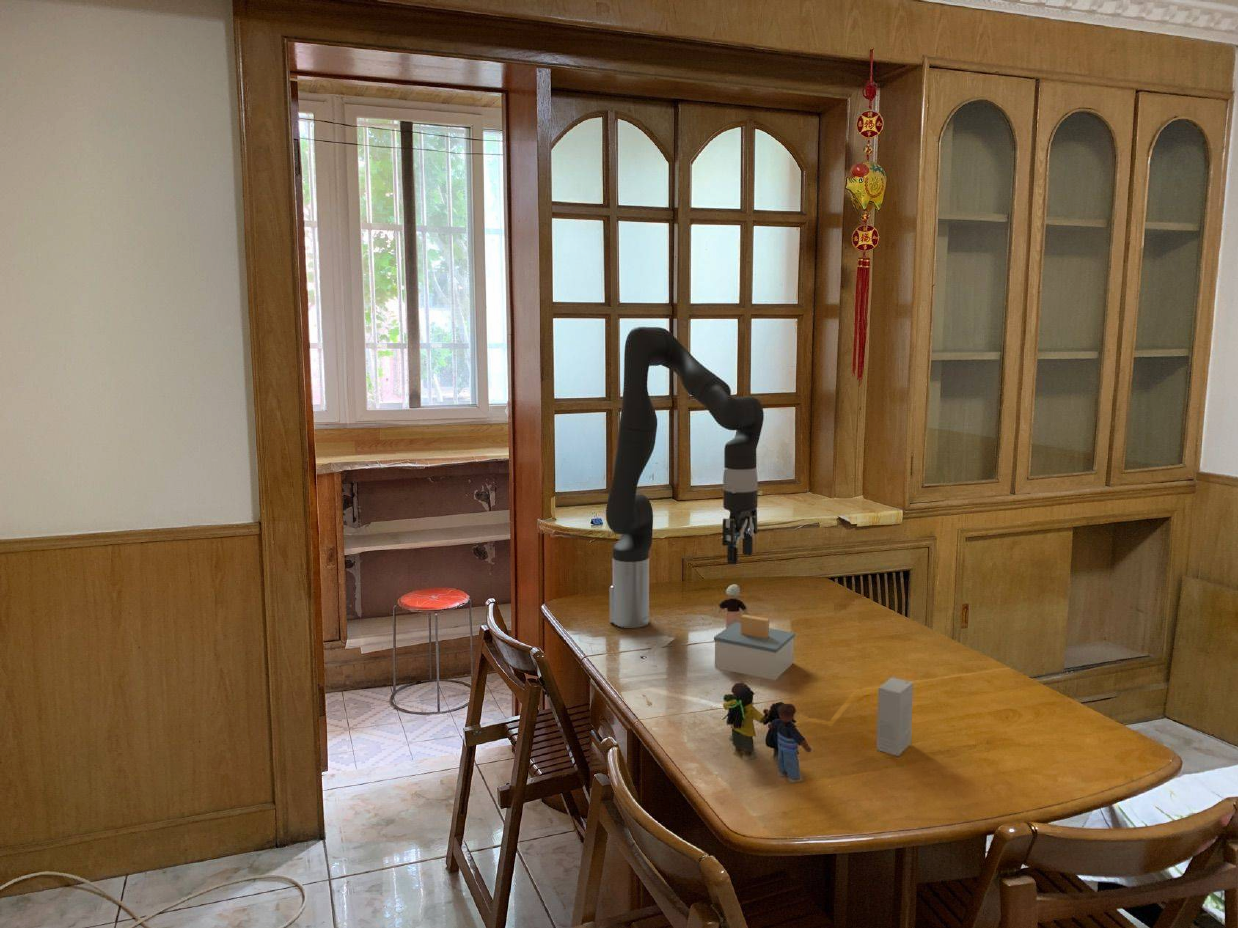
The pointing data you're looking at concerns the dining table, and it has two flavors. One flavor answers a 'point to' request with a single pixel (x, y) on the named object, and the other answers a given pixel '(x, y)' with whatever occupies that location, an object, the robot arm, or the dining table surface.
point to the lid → (755, 634)
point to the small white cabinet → (753, 660)
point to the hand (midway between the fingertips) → (740, 559)
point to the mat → (657, 647)
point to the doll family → (779, 733)
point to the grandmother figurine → (733, 606)
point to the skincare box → (894, 716)
